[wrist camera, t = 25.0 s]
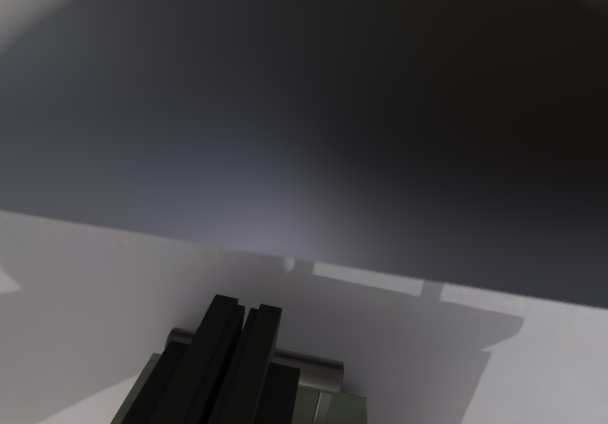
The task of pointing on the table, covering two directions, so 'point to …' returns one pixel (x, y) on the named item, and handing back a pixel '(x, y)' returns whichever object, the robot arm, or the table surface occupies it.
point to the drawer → (310, 394)
